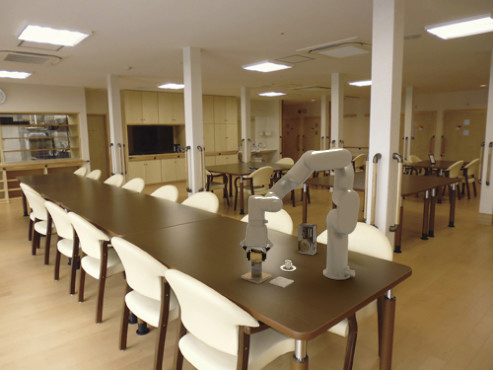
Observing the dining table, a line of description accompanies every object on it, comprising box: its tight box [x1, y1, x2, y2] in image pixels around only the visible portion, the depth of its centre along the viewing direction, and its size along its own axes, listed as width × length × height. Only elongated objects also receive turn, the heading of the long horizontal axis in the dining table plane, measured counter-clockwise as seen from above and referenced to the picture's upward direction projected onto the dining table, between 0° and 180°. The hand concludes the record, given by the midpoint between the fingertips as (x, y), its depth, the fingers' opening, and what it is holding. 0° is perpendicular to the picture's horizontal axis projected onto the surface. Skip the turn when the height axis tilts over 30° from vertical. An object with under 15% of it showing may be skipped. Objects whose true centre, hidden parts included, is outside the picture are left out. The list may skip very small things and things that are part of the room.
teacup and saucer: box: [279, 259, 297, 272], centre depth 176 cm, size 9×8×4 cm
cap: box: [249, 247, 264, 263], centre depth 162 cm, size 6×6×5 cm
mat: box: [268, 275, 295, 289], centre depth 158 cm, size 8×8×1 cm
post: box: [240, 261, 272, 285], centre depth 163 cm, size 10×10×8 cm
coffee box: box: [297, 222, 318, 256], centre depth 197 cm, size 9×6×16 cm
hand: (256, 259), depth 162 cm, fingers closed on cap, 6 cm apart
